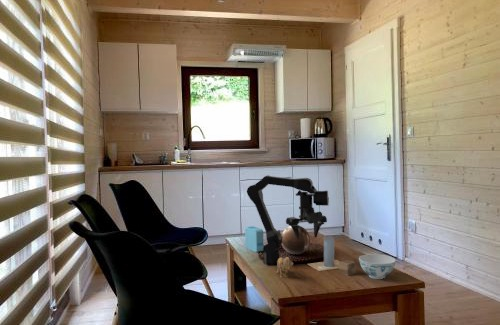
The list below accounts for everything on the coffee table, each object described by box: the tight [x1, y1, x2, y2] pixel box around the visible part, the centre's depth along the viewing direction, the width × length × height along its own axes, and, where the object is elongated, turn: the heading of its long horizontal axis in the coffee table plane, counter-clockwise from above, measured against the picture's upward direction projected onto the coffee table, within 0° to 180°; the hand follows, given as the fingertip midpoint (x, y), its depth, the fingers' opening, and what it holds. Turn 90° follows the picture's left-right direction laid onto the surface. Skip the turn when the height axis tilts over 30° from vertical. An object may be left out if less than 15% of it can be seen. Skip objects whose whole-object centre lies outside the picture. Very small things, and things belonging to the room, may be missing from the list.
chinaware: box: [358, 253, 397, 280], centre depth 179 cm, size 15×15×8 cm
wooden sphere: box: [281, 225, 311, 255], centre depth 218 cm, size 15×15×15 cm
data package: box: [244, 225, 265, 253], centre depth 228 cm, size 12×4×12 cm, turn 31°
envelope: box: [307, 259, 341, 272], centre depth 196 cm, size 16×12×1 cm
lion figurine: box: [276, 256, 294, 279], centre depth 185 cm, size 15×5×9 cm, turn 17°
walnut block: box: [338, 259, 357, 277], centre depth 185 cm, size 5×5×5 cm
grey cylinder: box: [323, 236, 335, 267], centre depth 195 cm, size 5×5×13 cm
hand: (306, 238), depth 197 cm, fingers open, 9 cm apart
